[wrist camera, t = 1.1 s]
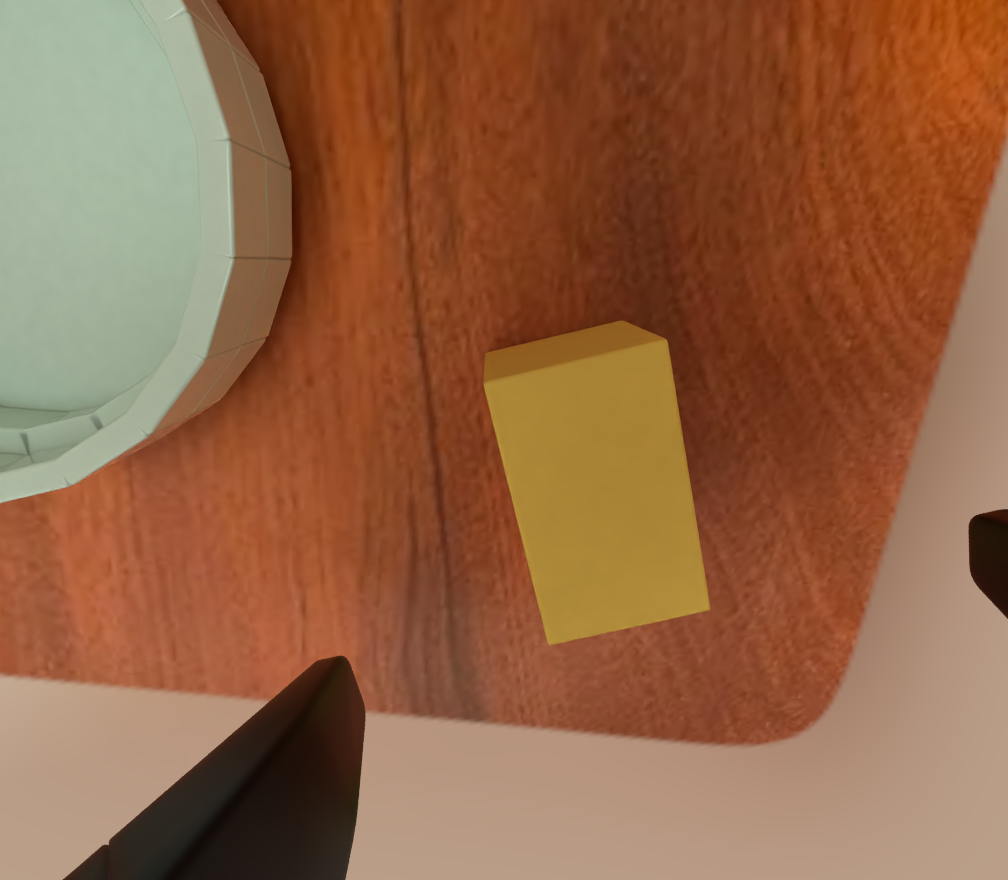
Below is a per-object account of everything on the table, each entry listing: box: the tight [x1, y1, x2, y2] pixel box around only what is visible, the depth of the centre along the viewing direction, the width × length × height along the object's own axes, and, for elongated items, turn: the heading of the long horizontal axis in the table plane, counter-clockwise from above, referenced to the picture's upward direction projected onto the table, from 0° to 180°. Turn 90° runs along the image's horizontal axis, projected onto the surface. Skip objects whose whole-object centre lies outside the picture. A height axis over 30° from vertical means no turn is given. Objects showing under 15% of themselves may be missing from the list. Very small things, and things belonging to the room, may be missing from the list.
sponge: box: [483, 320, 710, 645], centre depth 14 cm, size 6×4×4 cm, turn 13°
